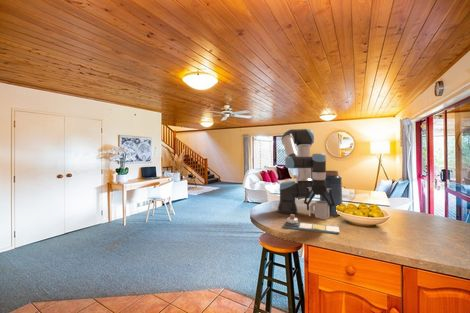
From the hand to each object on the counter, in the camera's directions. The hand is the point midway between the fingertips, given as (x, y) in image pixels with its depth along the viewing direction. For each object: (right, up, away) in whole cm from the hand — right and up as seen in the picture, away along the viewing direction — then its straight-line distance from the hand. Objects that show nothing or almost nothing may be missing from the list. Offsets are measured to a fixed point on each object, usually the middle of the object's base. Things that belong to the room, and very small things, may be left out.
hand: (318, 216), depth 132 cm
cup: (0, 0, 0) cm, 0 cm away
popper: (-14, -5, +6) cm, 16 cm away
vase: (+22, -7, +34) cm, 41 cm away
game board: (-5, -8, +2) cm, 9 cm away
